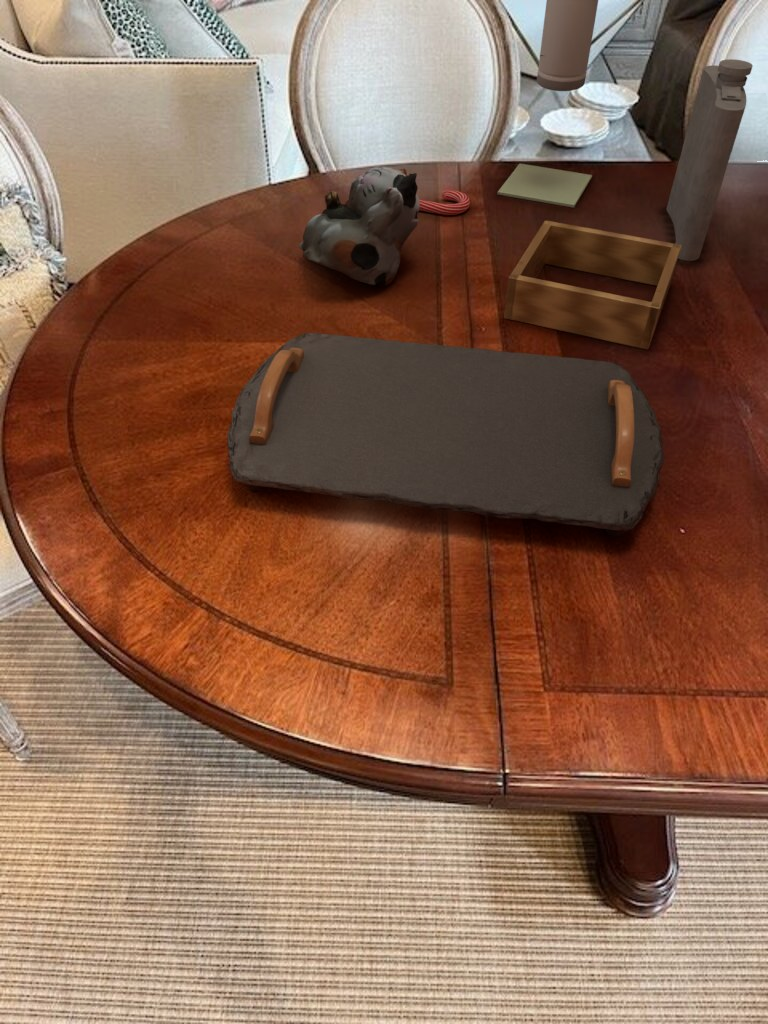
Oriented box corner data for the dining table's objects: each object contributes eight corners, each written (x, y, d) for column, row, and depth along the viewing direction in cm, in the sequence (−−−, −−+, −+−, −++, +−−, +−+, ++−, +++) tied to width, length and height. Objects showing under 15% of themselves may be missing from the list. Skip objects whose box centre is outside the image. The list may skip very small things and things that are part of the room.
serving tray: (647, 388, 78) (663, 335, 74) (665, 560, 62) (686, 505, 58) (274, 350, 83) (268, 298, 79) (201, 501, 67) (188, 446, 63)
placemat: (591, 177, 115) (592, 175, 114) (573, 207, 107) (574, 205, 107) (519, 165, 118) (519, 163, 117) (497, 194, 111) (497, 191, 110)
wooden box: (670, 284, 93) (681, 244, 89) (648, 350, 83) (659, 308, 80) (539, 258, 97) (545, 220, 94) (503, 318, 88) (508, 277, 84)
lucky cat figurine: (299, 242, 100) (340, 131, 94) (385, 280, 103) (431, 175, 97) (291, 265, 87) (338, 138, 81) (390, 308, 90) (442, 188, 84)
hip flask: (665, 205, 108) (708, 41, 94) (696, 207, 108) (743, 43, 93) (673, 259, 97) (723, 83, 83) (707, 262, 97) (763, 86, 82)
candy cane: (376, 186, 113) (376, 175, 112) (475, 202, 109) (476, 191, 108) (359, 202, 109) (359, 191, 108) (461, 219, 105) (462, 209, 104)
